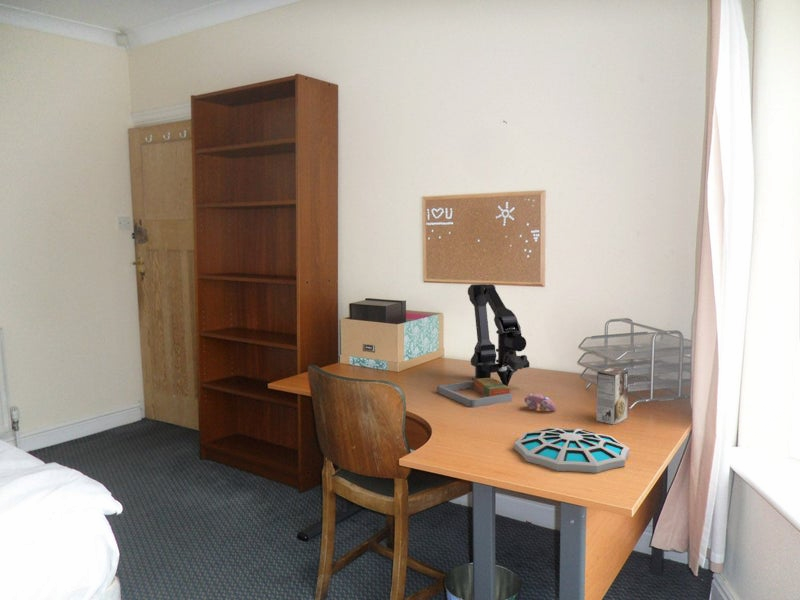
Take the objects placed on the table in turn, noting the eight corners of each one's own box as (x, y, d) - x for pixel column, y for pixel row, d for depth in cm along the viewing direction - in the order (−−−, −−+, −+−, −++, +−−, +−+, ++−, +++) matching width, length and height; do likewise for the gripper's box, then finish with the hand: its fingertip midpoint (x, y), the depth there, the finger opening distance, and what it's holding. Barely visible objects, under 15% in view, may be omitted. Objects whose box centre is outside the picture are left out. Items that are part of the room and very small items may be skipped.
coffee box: (608, 414, 202) (610, 366, 201) (627, 418, 198) (629, 369, 196) (595, 420, 196) (596, 371, 194) (614, 425, 191) (615, 374, 190)
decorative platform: (493, 453, 169) (493, 435, 169) (550, 428, 190) (550, 413, 189) (596, 484, 148) (597, 464, 147) (649, 453, 168) (649, 435, 167)
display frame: (436, 392, 233) (436, 385, 232) (474, 386, 241) (474, 380, 240) (471, 407, 212) (471, 400, 212) (511, 400, 220) (511, 394, 220)
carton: (493, 387, 241) (493, 377, 240) (510, 398, 225) (510, 387, 225) (473, 389, 239) (473, 378, 238) (489, 399, 223) (489, 388, 223)
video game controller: (525, 412, 211) (521, 396, 208) (531, 404, 214) (527, 388, 211) (551, 418, 205) (547, 401, 202) (557, 409, 207) (553, 393, 204)
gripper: (498, 352, 220) (498, 395, 221) (539, 347, 228) (538, 388, 230) (480, 348, 229) (480, 388, 231) (520, 343, 238) (519, 382, 240)
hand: (505, 387), depth 233 cm, fingers closed
